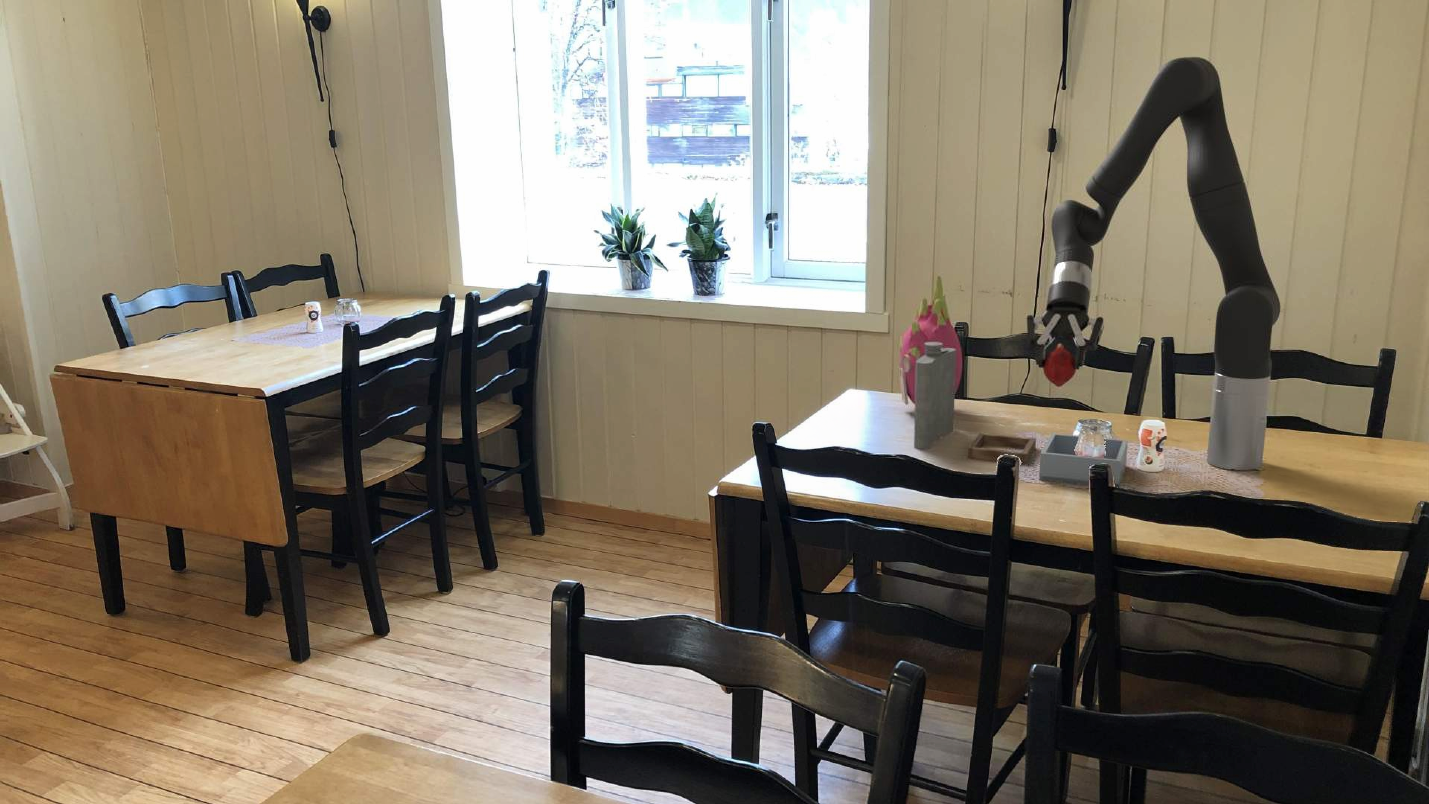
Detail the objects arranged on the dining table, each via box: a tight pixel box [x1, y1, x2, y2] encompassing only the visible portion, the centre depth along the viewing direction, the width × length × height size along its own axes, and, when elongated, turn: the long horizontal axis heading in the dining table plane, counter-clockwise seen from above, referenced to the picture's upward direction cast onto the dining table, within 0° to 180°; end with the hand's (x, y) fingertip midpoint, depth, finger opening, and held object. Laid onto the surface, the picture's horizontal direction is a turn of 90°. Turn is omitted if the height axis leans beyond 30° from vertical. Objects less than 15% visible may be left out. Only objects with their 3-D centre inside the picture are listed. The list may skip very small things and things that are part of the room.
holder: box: [967, 432, 1037, 465], centre depth 214 cm, size 11×11×2 cm
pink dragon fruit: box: [898, 275, 963, 406], centre depth 242 cm, size 18×14×30 cm
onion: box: [1042, 343, 1077, 387], centre depth 201 cm, size 6×6×8 cm
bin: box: [1038, 432, 1129, 488], centre depth 201 cm, size 14×14×5 cm
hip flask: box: [913, 342, 956, 450], centre depth 222 cm, size 16×4×20 cm, turn 147°
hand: (1058, 366), depth 200 cm, fingers closed on onion, 5 cm apart
